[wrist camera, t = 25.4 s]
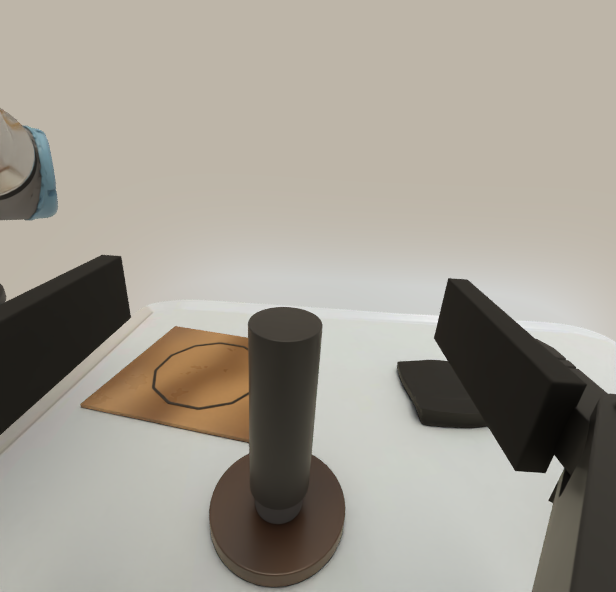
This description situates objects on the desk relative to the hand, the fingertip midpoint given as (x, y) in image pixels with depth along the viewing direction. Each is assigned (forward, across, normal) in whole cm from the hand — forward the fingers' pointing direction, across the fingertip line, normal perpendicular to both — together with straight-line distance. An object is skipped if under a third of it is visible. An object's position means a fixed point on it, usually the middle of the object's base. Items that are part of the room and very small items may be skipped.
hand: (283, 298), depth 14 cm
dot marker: (+1, 0, -14) cm, 14 cm away
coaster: (+1, 0, -15) cm, 15 cm away
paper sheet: (+14, -8, -15) cm, 22 cm away
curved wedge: (+13, +16, -15) cm, 26 cm away
